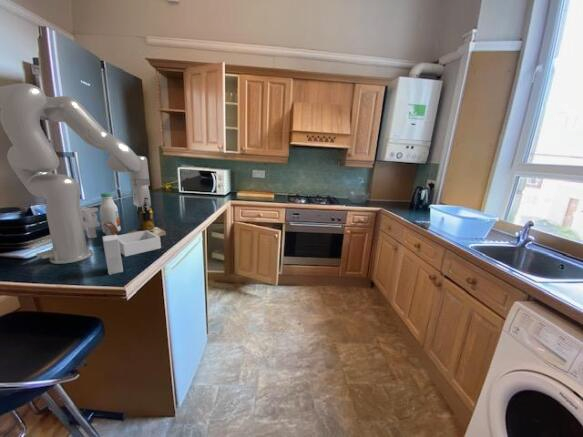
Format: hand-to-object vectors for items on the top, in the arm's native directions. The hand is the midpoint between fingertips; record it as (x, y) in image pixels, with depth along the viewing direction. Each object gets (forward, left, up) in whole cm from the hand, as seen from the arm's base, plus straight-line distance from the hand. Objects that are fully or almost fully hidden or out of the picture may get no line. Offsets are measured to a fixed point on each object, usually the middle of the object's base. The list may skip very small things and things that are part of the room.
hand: (144, 219), depth 124 cm
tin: (-14, +1, -9) cm, 16 cm away
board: (0, 0, -9) cm, 9 cm away
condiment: (0, 0, -6) cm, 6 cm away
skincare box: (-22, -35, -9) cm, 42 cm away
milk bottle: (-10, +19, -9) cm, 23 cm away
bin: (-9, -16, -9) cm, 20 cm away
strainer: (-19, +14, -9) cm, 25 cm away
